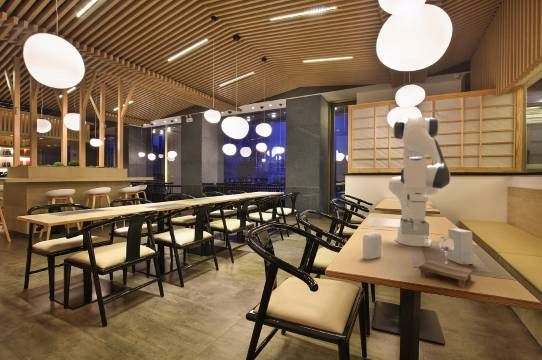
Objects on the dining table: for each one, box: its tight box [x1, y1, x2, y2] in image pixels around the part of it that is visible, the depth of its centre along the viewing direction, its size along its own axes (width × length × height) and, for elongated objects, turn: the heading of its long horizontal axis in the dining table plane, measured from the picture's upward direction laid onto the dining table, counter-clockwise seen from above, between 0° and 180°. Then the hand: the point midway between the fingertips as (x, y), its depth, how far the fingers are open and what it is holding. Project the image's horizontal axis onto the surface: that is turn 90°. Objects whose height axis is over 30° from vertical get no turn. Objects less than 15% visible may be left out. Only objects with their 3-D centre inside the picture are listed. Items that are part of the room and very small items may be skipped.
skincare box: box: [447, 228, 474, 265], centre depth 123 cm, size 8×6×15 cm
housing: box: [399, 219, 430, 237], centre depth 111 cm, size 4×10×6 cm, turn 71°
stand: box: [418, 259, 474, 289], centre depth 104 cm, size 12×15×4 cm
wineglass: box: [438, 236, 455, 265], centre depth 119 cm, size 6×6×12 cm
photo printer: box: [362, 231, 382, 260], centre depth 128 cm, size 10×4×12 cm, turn 123°
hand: (414, 228), depth 111 cm, fingers closed on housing, 4 cm apart
